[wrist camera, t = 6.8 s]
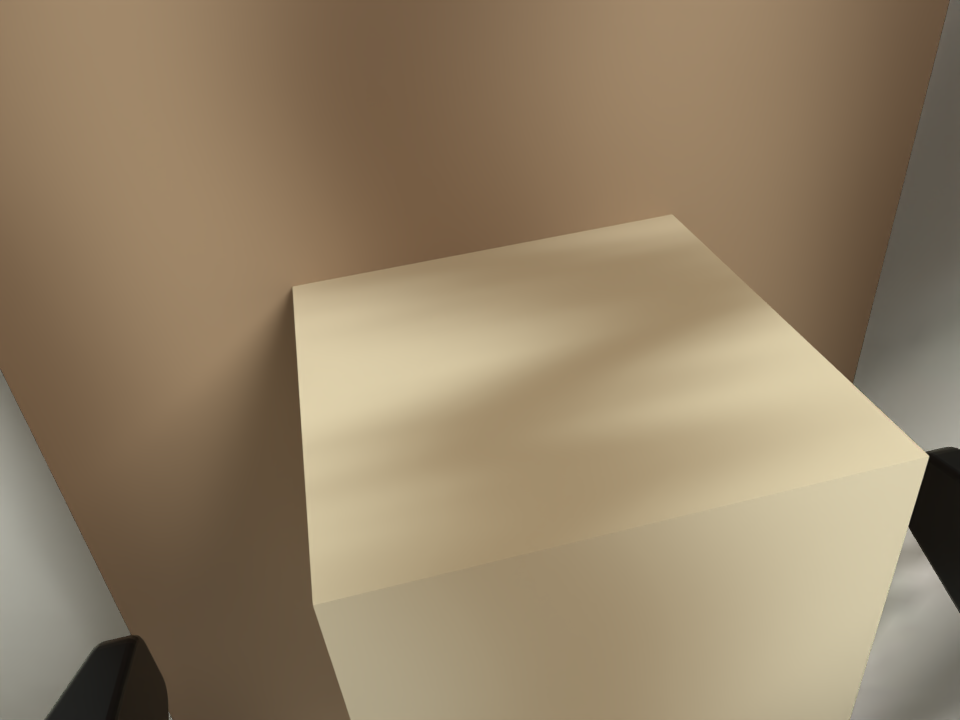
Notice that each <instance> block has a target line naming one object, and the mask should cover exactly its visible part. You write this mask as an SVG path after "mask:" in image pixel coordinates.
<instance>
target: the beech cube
mask: <svg viewBox="0 0 960 720" xmlns="http://www.w3.org/2000/svg"><path fill="white" fill-rule="evenodd" d="M292 288H293V304H294V319H295V335H296V350H297V366H298V382H299V397H300V413H301V428H302V444H303V459H304V475H305V491H306V506H307V522H308V537H309V553H310V568H311V584H312V600H313V607H314V610H315V613H316V616H317V619H318V622H319V625H320V628H321V631H322V634H323V637H324V640H325V643H326V647H327V650H328V653H329V656H330V659H331V662H332V665H333V668H334V671H335V674H336V677H337V680H338V683H339V686H340V689H341V692H342V695H343V698H344V701H345V704H346V707H347V710H348V713H349V716H350V719H351V720H850V718H851V714H852V711H853V708H854V704H855V701H856V698H857V694H858V691H859V688H860V684H861V681H862V678H863V674H864V671H865V668H866V665H867V661H868V658H869V655H870V651H871V648H872V645H873V641H874V638H875V635H876V631H877V628H878V625H879V621H880V618H881V615H882V612H883V608H884V605H885V602H886V598H887V595H888V592H889V588H890V585H891V582H892V578H893V575H894V572H895V568H896V565H897V562H898V559H899V555H900V552H901V549H902V545H903V542H904V539H905V535H906V532H907V529H908V525H909V522H910V519H911V515H912V512H913V509H914V506H915V502H916V499H917V496H918V492H919V489H920V486H921V482H922V479H923V476H924V472H925V469H926V466H927V463H928V459H929V455H928V454H927V453H925V452H924V451H923V450H922V449H921V448H920V447H919V446H918V445H917V444H916V443H915V442H914V441H913V440H912V439H911V438H910V437H908V436H907V435H906V434H905V433H904V432H903V431H902V430H901V429H900V428H899V427H898V426H897V425H896V424H895V423H894V422H893V421H891V420H890V419H889V418H888V417H887V416H886V415H885V414H884V413H883V412H882V411H881V410H880V409H879V408H878V407H877V406H876V405H874V404H873V403H872V402H871V401H870V400H869V399H868V398H867V397H866V396H865V395H864V394H863V393H862V392H861V391H860V390H859V389H857V388H856V387H855V386H854V385H853V384H852V383H851V382H850V381H849V380H848V379H847V378H846V377H845V376H844V375H843V374H842V373H840V372H839V371H838V370H837V369H836V368H835V367H834V366H833V365H832V364H831V363H830V362H829V361H828V360H827V359H826V358H824V357H823V356H822V355H821V354H820V353H819V352H818V351H817V350H816V349H815V348H814V347H813V346H812V345H811V344H810V343H809V342H807V341H806V340H805V339H804V338H803V337H802V336H801V335H800V334H799V333H798V332H797V331H796V330H795V329H794V328H793V327H792V326H790V325H789V324H788V323H787V322H786V321H785V320H784V319H783V318H782V317H781V316H780V315H779V314H778V313H777V312H776V311H775V310H773V309H772V308H771V307H770V306H769V305H768V304H767V303H766V302H765V301H764V300H763V299H762V298H761V297H760V296H759V295H758V294H756V293H755V292H754V291H753V290H752V289H751V288H750V287H749V286H748V285H747V284H746V283H745V282H744V281H743V280H742V279H741V278H739V277H738V276H737V275H736V274H735V273H734V272H733V271H732V270H731V269H730V268H729V267H728V266H727V265H726V264H725V263H724V262H722V261H721V260H720V259H719V258H718V257H717V256H716V255H715V254H714V253H713V252H712V251H711V250H710V249H709V248H708V247H707V246H705V245H704V244H703V243H702V242H701V241H700V240H699V239H698V238H697V237H696V236H695V235H694V234H693V233H692V232H691V231H689V230H688V229H687V228H686V227H685V226H684V225H683V224H682V223H681V222H680V221H679V220H678V219H677V218H676V217H675V216H674V215H672V214H671V215H666V216H661V217H656V218H650V219H645V220H640V221H635V222H629V223H624V224H619V225H614V226H608V227H603V228H598V229H593V230H587V231H582V232H577V233H572V234H566V235H561V236H556V237H551V238H545V239H540V240H535V241H530V242H524V243H519V244H514V245H509V246H503V247H498V248H493V249H488V250H482V251H477V252H472V253H467V254H461V255H456V256H451V257H446V258H440V259H435V260H430V261H425V262H419V263H414V264H409V265H404V266H398V267H393V268H388V269H383V270H377V271H372V272H367V273H362V274H356V275H351V276H346V277H341V278H335V279H330V280H325V281H320V282H314V283H309V284H304V285H299V286H293V287H292Z"/></svg>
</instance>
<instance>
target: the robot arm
mask: <svg viewBox="0 0 960 720" xmlns="http://www.w3.org/2000/svg"><path fill="white" fill-rule="evenodd" d="M925 453H927V454H928V455H929V459H928V463H927V466H926V469H925V472H924V476H923V479H922V482H921V486H920V489H919V492H918V496H917V499H916V502H915V506H914V509H913V512H912V515H911V519H910V522H909V525H908V527H909V529H910V531H911V532H912V534H913V536H914V537H915V539H916V541H917V542H918V544H919V546H920V547H921V549H922V551H923V552H924V554H925V556H926V557H927V559H928V561H929V562H930V564H931V566H932V567H933V569H934V571H935V572H936V574H937V576H938V577H939V579H940V581H941V582H942V584H943V586H944V588H945V589H946V591H947V593H948V594H949V596H950V598H951V599H952V601H953V603H954V604H955V606H956V608H957V609H958V611H959V613H960V449H958V448H954V447H944V448H940V449H935V450H931V451H927V452H925ZM45 720H169V717H168V693H167V688H166V684H165V680H164V678H163V676H162V674H161V672H160V670H159V668H158V666H157V664H156V662H155V660H154V658H153V657H152V655H151V653H150V651H149V649H148V647H147V645H146V643H145V641H144V640H143V639H142V638H141V637H140V636H138V635H130V636H126V637H121V638H117V639H113V640H108V641H105V642H102V643H100V644H98V645H97V646H96V647H95V648H94V649H93V650H92V651H91V653H90V654H89V656H88V657H87V659H86V660H85V661H84V663H83V664H82V666H81V667H80V669H79V670H78V672H77V673H76V675H75V676H74V678H73V679H72V680H71V682H70V683H69V685H68V686H67V688H66V689H65V691H64V692H63V694H62V695H61V696H60V698H59V699H58V701H57V702H56V704H55V705H54V707H53V708H52V710H51V711H50V712H49V714H48V715H47V717H46V718H45Z"/></svg>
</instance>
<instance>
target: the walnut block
mask: <svg viewBox="0 0 960 720" xmlns="http://www.w3.org/2000/svg"><path fill="white" fill-rule="evenodd" d="M949 1H950V0H0V369H1V371H2V373H3V375H4V377H5V379H6V381H7V383H8V385H9V387H10V389H11V391H12V394H13V396H14V398H15V400H16V402H17V404H18V406H19V408H20V410H21V412H22V414H23V416H24V418H25V420H26V422H27V424H28V426H29V428H30V430H31V432H32V434H33V436H34V438H35V440H36V442H37V444H38V446H39V448H40V450H41V452H42V455H43V457H44V459H45V461H46V463H47V465H48V467H49V469H50V471H51V473H52V475H53V477H54V479H55V481H56V483H57V485H58V487H59V489H60V491H61V493H62V495H63V497H64V499H65V501H66V503H67V505H68V507H69V509H70V511H71V513H72V516H73V518H74V520H75V522H76V524H77V526H78V528H79V530H80V532H81V534H82V536H83V538H84V540H85V542H86V544H87V546H88V548H89V550H90V552H91V554H92V556H93V558H94V560H95V562H96V564H97V566H98V568H99V570H100V572H101V574H102V577H103V579H104V581H105V583H106V585H107V587H108V589H109V591H110V593H111V595H112V597H113V599H114V601H115V603H116V605H117V607H118V609H119V611H120V613H121V615H122V617H123V619H124V621H125V623H126V625H127V627H128V629H129V631H130V633H131V635H138V636H140V637H141V638H142V639H143V640H144V641H145V643H146V645H147V647H148V649H149V651H150V653H151V655H152V657H153V658H154V660H155V662H156V664H157V666H158V668H159V670H160V672H161V674H162V676H163V678H164V680H165V684H166V688H167V693H168V711H169V713H170V715H171V717H172V719H173V720H351V719H350V716H349V713H348V710H347V707H346V704H345V701H344V698H343V695H342V692H341V689H340V686H339V683H338V680H337V677H336V674H335V671H334V668H333V665H332V662H331V659H330V656H329V653H328V650H327V647H326V643H325V640H324V637H323V634H322V631H321V628H320V625H319V622H318V619H317V616H316V613H315V610H314V607H313V600H312V584H311V568H310V553H309V537H308V522H307V506H306V491H305V475H304V459H303V444H302V428H301V413H300V397H299V382H298V366H297V350H296V335H295V319H294V304H293V288H292V287H293V286H299V285H304V284H309V283H314V282H320V281H325V280H330V279H335V278H341V277H346V276H351V275H356V274H362V273H367V272H372V271H377V270H383V269H388V268H393V267H398V266H404V265H409V264H414V263H419V262H425V261H430V260H435V259H440V258H446V257H451V256H456V255H461V254H467V253H472V252H477V251H482V250H488V249H493V248H498V247H503V246H509V245H514V244H519V243H524V242H530V241H535V240H540V239H545V238H551V237H556V236H561V235H566V234H572V233H577V232H582V231H587V230H593V229H598V228H603V227H608V226H614V225H619V224H624V223H629V222H635V221H640V220H645V219H650V218H656V217H661V216H666V215H671V214H672V215H674V216H675V217H676V218H677V219H678V220H679V221H680V222H681V223H682V224H683V225H684V226H685V227H686V228H687V229H688V230H689V231H691V232H692V233H693V234H694V235H695V236H696V237H697V238H698V239H699V240H700V241H701V242H702V243H703V244H704V245H705V246H707V247H708V248H709V249H710V250H711V251H712V252H713V253H714V254H715V255H716V256H717V257H718V258H719V259H720V260H721V261H722V262H724V263H725V264H726V265H727V266H728V267H729V268H730V269H731V270H732V271H733V272H734V273H735V274H736V275H737V276H738V277H739V278H741V279H742V280H743V281H744V282H745V283H746V284H747V285H748V286H749V287H750V288H751V289H752V290H753V291H754V292H755V293H756V294H758V295H759V296H760V297H761V298H762V299H763V300H764V301H765V302H766V303H767V304H768V305H769V306H770V307H771V308H772V309H773V310H775V311H776V312H777V313H778V314H779V315H780V316H781V317H782V318H783V319H784V320H785V321H786V322H787V323H788V324H789V325H790V326H792V327H793V328H794V329H795V330H796V331H797V332H798V333H799V334H800V335H801V336H802V337H803V338H804V339H805V340H806V341H807V342H809V343H810V344H811V345H812V346H813V347H814V348H815V349H816V350H817V351H818V352H819V353H820V354H821V355H822V356H823V357H824V358H826V359H827V360H828V361H829V362H830V363H831V364H832V365H833V366H834V367H835V368H836V369H837V370H838V371H839V372H840V373H842V374H843V375H844V376H845V377H846V378H847V379H848V380H849V381H850V382H851V383H852V384H853V380H854V376H855V372H856V368H857V365H858V361H859V357H860V353H861V349H862V345H863V341H864V337H865V333H866V329H867V325H868V321H869V317H870V313H871V309H872V305H873V301H874V297H875V293H876V289H877V286H878V282H879V278H880V274H881V270H882V266H883V262H884V258H885V254H886V250H887V246H888V242H889V238H890V234H891V230H892V226H893V222H894V218H895V214H896V211H897V207H898V203H899V199H900V195H901V191H902V187H903V183H904V179H905V175H906V171H907V167H908V163H909V159H910V155H911V151H912V147H913V143H914V139H915V135H916V132H917V128H918V124H919V120H920V116H921V112H922V108H923V104H924V100H925V96H926V92H927V88H928V84H929V80H930V76H931V72H932V68H933V64H934V60H935V57H936V53H937V49H938V45H939V41H940V37H941V33H942V29H943V25H944V21H945V17H946V13H947V9H948V5H949Z"/></svg>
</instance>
